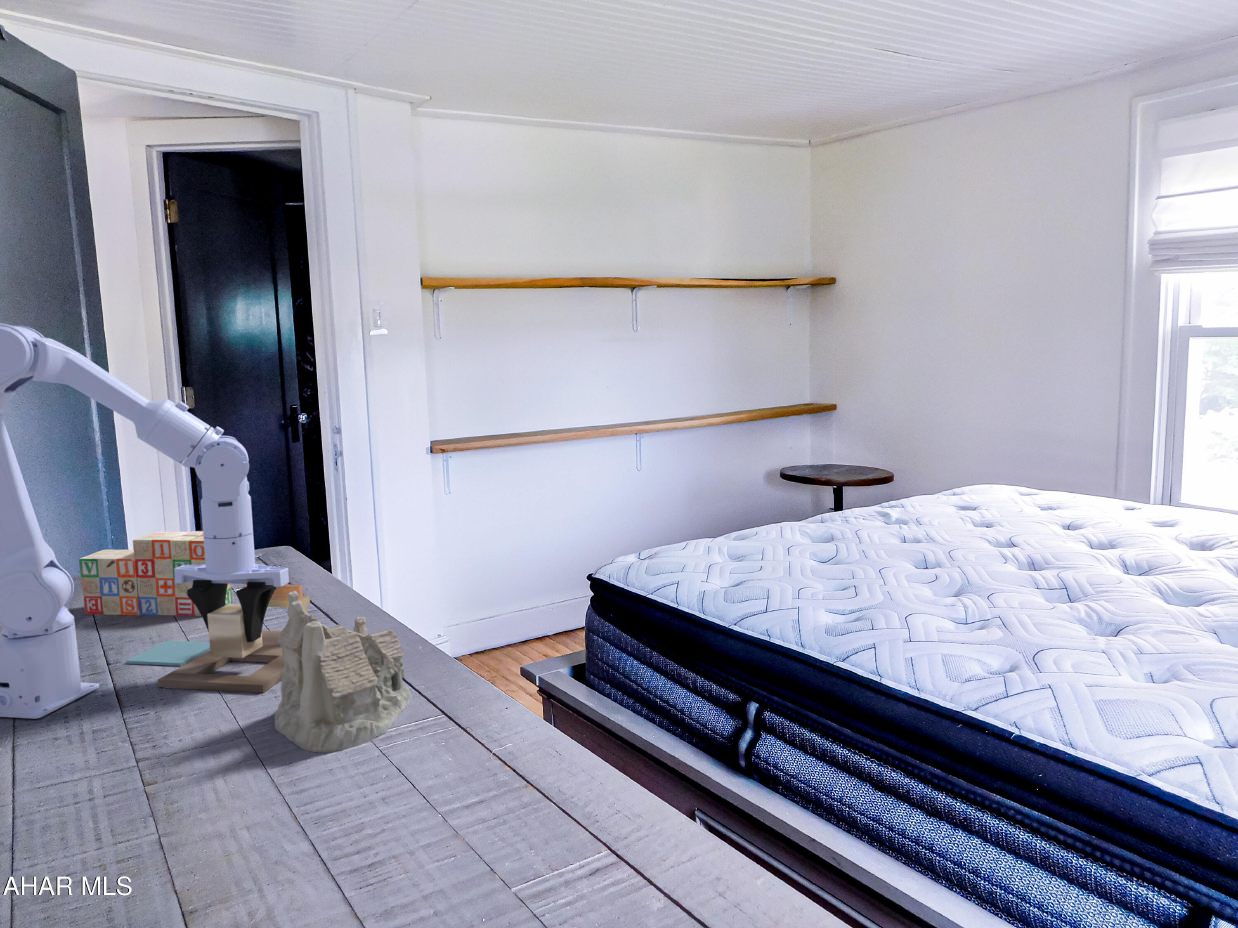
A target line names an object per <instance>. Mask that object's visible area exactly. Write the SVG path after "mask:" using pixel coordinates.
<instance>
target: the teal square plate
mask: <svg viewBox="0 0 1238 928" xmlns="http://www.w3.org/2000/svg"><path fill="white" fill-rule="evenodd" d="M208 651H210V642H209V641H191V640H190V641H188V640H187V641H185V640H165V641H163V642H160V643H158V644H156V645H155V646H152V647H151V648H149V649H146V650H145V651H143V652H141V653H138V654H136V655H134V656H132V657H131V658H129V659H127V660H125V663H126V664H130V665H131V664H132V665H148V666H149V665H150V664H151V665H153V666H168V667H169V666H171V667H181V666H183V665H185V664H187V663H189V662H190V661H192V660H194V659H196V658H198V657H199V656H201V655H203V654H205V653H207V652H208ZM151 665H150V666H151Z"/></svg>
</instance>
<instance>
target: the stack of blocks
mask: <svg viewBox="0 0 1238 928" xmlns="http://www.w3.org/2000/svg"><path fill="white" fill-rule="evenodd" d="M132 547H133V549H102V550H99V551H96V552H94V553H93V552H92V553H91V554H89V555H86V556H84V557H83V556H82V557H80V558H78V563H79V575H80V578H81V589H82V597H83V604H84V606H83V608H84V613H85V614H84V615H105V616H106V615H107V616H108V615H109V616H110V615H112V616H113V615H114V616H118V615H119V616H120V615H123V616H189V617H190V616H198V617H199V616H200V617H202V616H201V614H200V612H199V610H198V609H197V607H196V606H195V604H194V603H193V602H192V600H191V599H190V598H189V597H188V596H187V590H188V589H190V588H192V585H193V582H185V583H175V573H174V569H175V568H177V567H180V566H183V565H204V564H205V551H204V538H203V530H197V531H196V530H194V531H193V530H191V531H153V532H151V533H148V534H146V535H145V534H144V535H143V536H141V537H137V538H134V539H132ZM227 604H234V602H233V589H232V584H228V586H227V591H226V600H225V605H227Z"/></svg>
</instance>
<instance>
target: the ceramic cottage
mask: <svg viewBox="0 0 1238 928" xmlns="http://www.w3.org/2000/svg"><path fill="white" fill-rule="evenodd" d="M287 597H288V600H289V606H288V607H287V617H288V620H287V622H286V625H285V626H284V628H283V629H282V630H280V631H281V633H280V635H279V637H278V643H279V645H280V646H281V647H282V653H283V660H284V668H283V670H282V671H281V674H282V679H281V681H280V682H281V683H280V693H281V694H280V695H281V700H280V702H279V704H278V706H277V710H276V713H275V714H274V728H275V730H276V732H277V731H278V732H279V733H280V734H282V735H283V736H284V737H286V738H288V740H289V742H292V743H294V744H295V745H296V746H297V747H299V748H300V749H302V750H303V751H307V752H314V753H318V754H319V753H320V754H321V753H333V752H341V751H345V750H348V749H352V748H355V747H358V746H361V745H363V744H365V743H368V742H370V741H373V740H375V739H376V737H378V738H379V736H380V737H381V736H382V735H384V734H385V733H387V732H388V731H389V730H390V728H391V727H392V726H393V724H394V723H395V722H396V720H397V719H398V718H399V716H401V713H402V712H404V710H405V708H406V707H407V706H408V704H409V703H410V702H411V701H412V699H413V698H412V697H413V695H412V693H411V692H412V691H411V689H410V688H409V687H408V685H407V684H405V683H404V679H403V678H404V677H405V663H404V659H403V657H404V656H405V653H404V651H403V648H402V646H401V643H400V641H399V639H398V636H397V634H396V633H395V631H394V630H393V629H388V630H387V629H386V630H384V631H380V632H377V633H372V634H370V633H369V632H368V629H367V619H366V617H364V616H357V617H356V618H355V619H354V628H353V631H352V630H350V629H349V628H346V627H345V626H344V625H340V624H336V625H335V626H334V628H331V629H330V627H329V626H327V625H326V624H323V622H321V621H320V620H319V619H318V618H316V617H315V616H314V615H312V614H309V613H308V614H306V613H305V612H304V608H303V603H301V602H300V600H299V594H298V592H296V591H292V592H290V593H288V594H287ZM368 633H369V634H368Z"/></svg>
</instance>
